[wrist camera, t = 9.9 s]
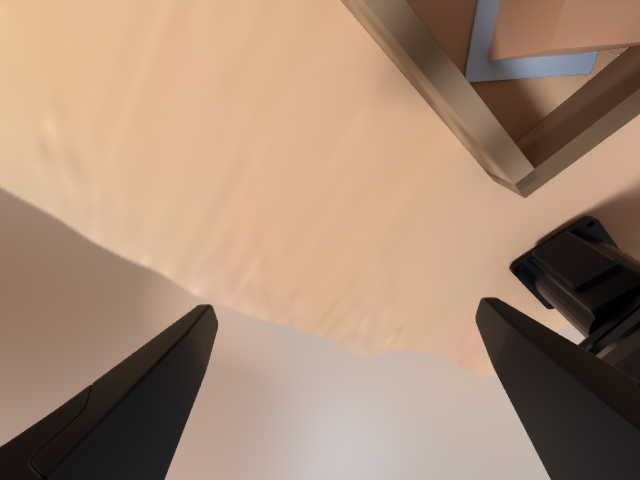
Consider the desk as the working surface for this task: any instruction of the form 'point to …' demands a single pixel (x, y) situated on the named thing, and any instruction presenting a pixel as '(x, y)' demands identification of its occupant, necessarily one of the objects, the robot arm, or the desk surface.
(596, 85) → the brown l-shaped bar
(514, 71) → the pad
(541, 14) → the cube
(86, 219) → the desk surface
